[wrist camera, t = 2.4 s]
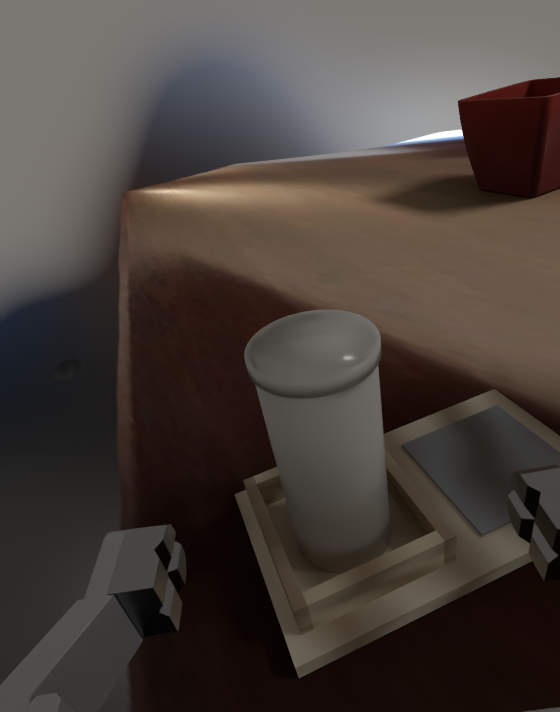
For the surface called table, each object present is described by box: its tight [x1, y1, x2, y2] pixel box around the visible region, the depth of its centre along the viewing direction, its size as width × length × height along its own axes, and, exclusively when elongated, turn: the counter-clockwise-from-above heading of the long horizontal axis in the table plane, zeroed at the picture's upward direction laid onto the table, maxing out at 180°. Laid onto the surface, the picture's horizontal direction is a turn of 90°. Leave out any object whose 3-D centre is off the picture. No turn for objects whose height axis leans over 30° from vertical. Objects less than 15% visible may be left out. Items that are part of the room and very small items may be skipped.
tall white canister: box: [244, 310, 391, 574], centre depth 28 cm, size 10×7×15 cm
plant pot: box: [458, 77, 560, 197], centre depth 83 cm, size 19×19×17 cm
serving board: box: [235, 389, 560, 678], centre depth 31 cm, size 24×13×4 cm, turn 110°
